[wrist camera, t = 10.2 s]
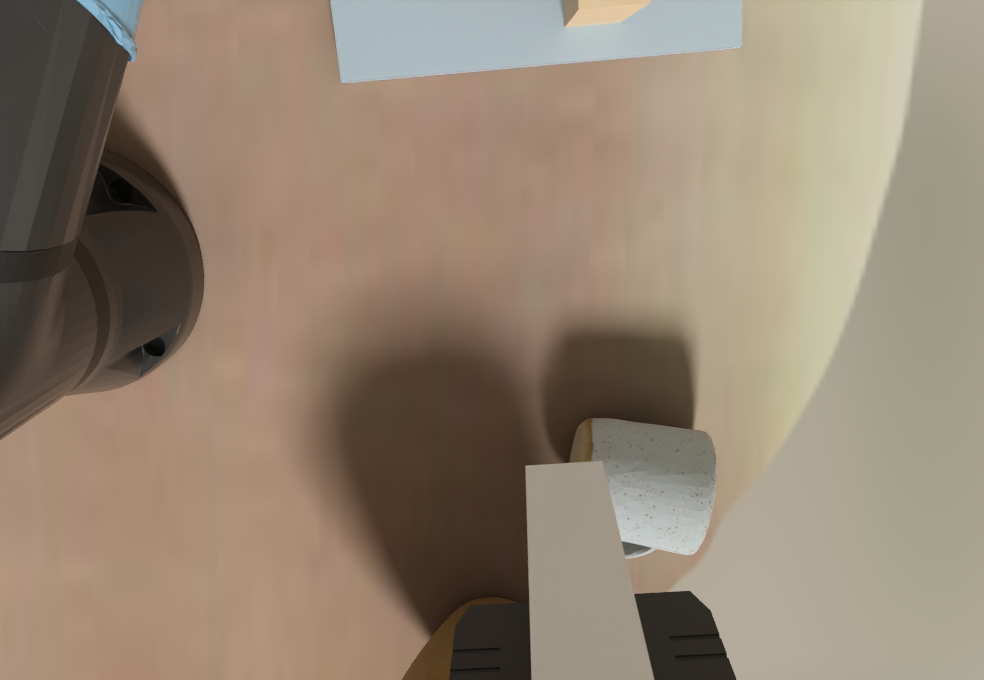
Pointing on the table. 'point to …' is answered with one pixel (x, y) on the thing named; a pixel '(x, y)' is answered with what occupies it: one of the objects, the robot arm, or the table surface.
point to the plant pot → (443, 646)
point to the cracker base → (520, 33)
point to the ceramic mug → (653, 481)
